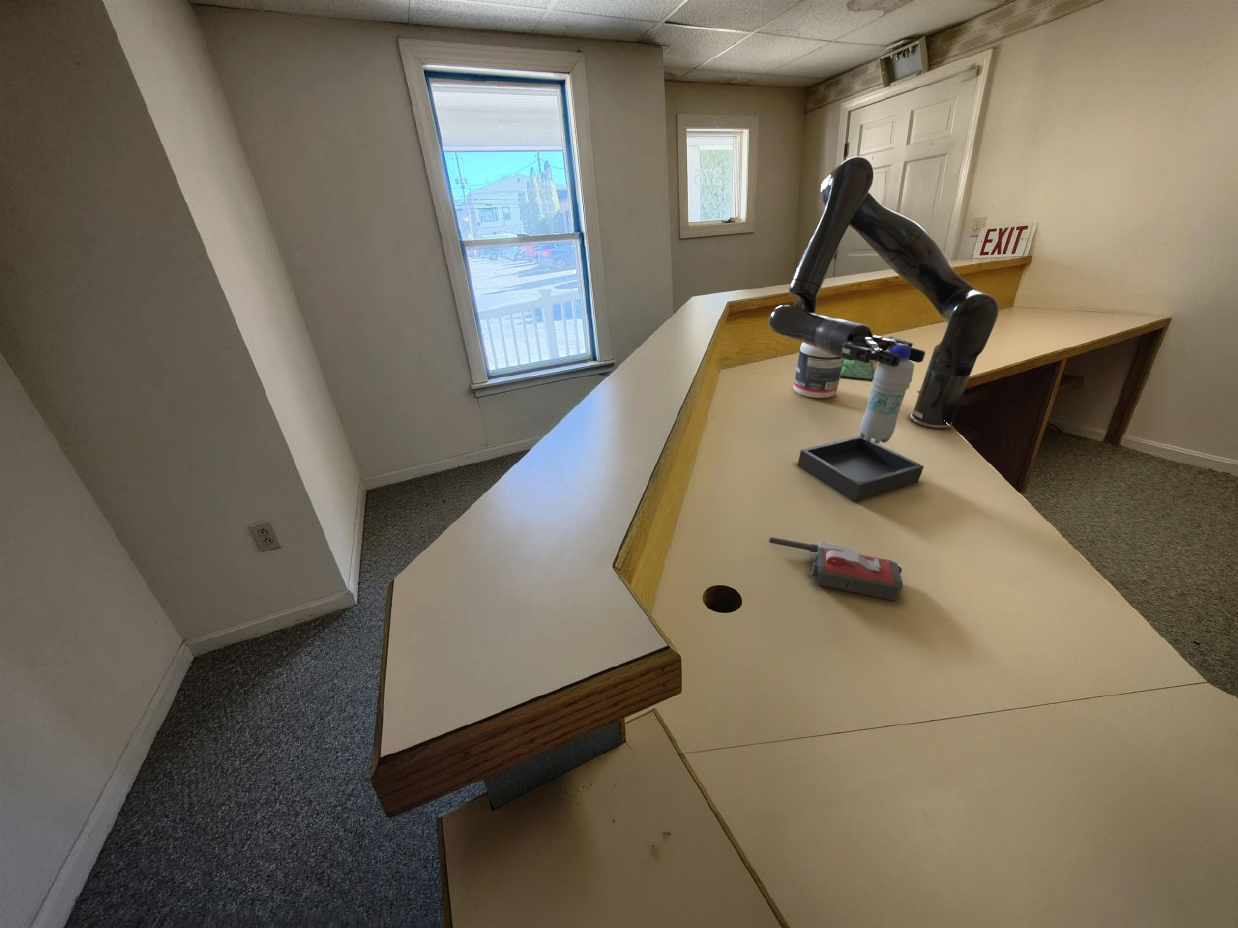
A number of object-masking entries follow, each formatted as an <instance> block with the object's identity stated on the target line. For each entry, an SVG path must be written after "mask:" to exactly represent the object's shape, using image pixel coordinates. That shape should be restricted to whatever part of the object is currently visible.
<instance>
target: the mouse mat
mask: <svg viewBox="0 0 1238 928" xmlns="http://www.w3.org/2000/svg"><path fill="white" fill-rule="evenodd" d="M874 374H875V372H874V364H873V362H872V361H869V363H864V362H861V361H858V360H847V359H844V364H843V368H842V372H841V376H840V378H849V379H855V380H856V379H857V380H865V381H873V379H874Z"/></svg>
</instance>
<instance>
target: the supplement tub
mask: <svg viewBox="0 0 1238 928" xmlns="http://www.w3.org/2000/svg"><path fill="white" fill-rule="evenodd" d="M843 364H844V358H841V357H838V356H835V355H832V354H830V353H827V352H824V351H823V350H821V349H819V348H816V347H813V346H810V345H808V344H806V343H804V342H802V343H801V345H800V348H799V354H798V358H797V365H796V370H795V374H794V380H793V384H792V387H793V390H794V391H795V392H796V393H797V394H799V395H800V396H804V397H807V398H812V399H813V398H814V399H826V398H830V397H833V396H835V395H836V393H837V392H838V389H839V384H840V379H841V377H840V376H841V372H842V368H843Z"/></svg>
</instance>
